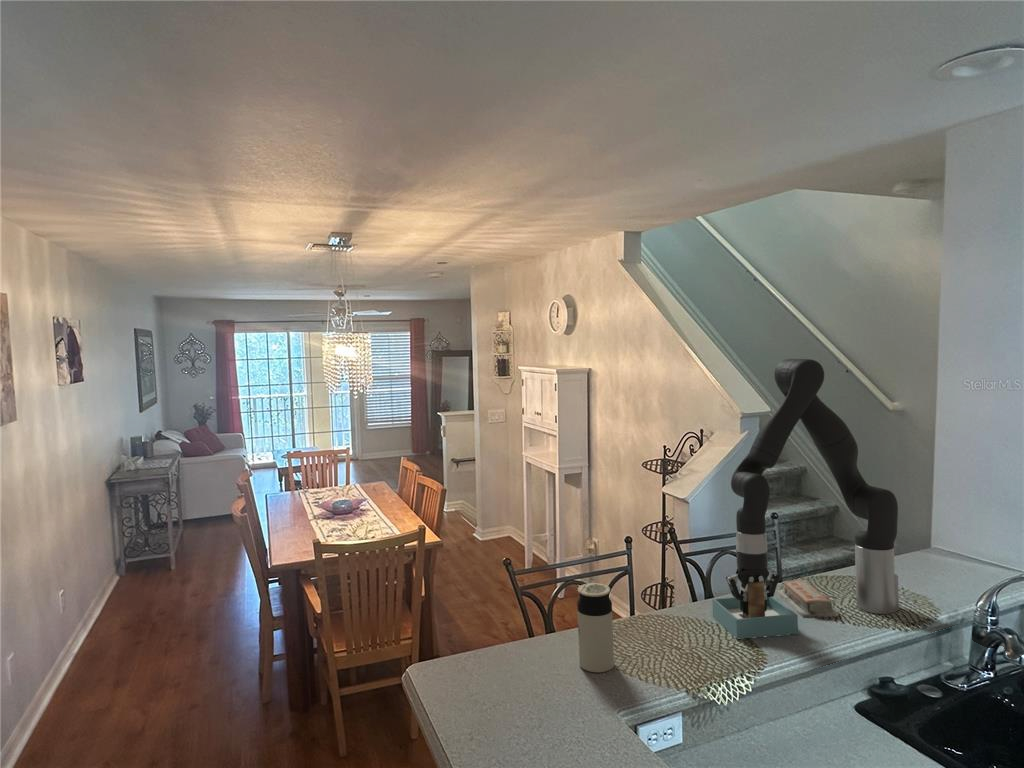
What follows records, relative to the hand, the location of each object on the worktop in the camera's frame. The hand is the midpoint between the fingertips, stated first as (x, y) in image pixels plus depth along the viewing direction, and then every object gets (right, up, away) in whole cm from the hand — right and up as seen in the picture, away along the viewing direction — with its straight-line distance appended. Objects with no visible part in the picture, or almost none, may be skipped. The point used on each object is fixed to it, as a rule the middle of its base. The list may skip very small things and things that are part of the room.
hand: (753, 613), depth 159 cm
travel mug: (-43, -6, -17) cm, 47 cm away
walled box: (0, -3, 0) cm, 3 cm away
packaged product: (+20, -3, +13) cm, 24 cm away
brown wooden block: (0, -2, 0) cm, 2 cm away
